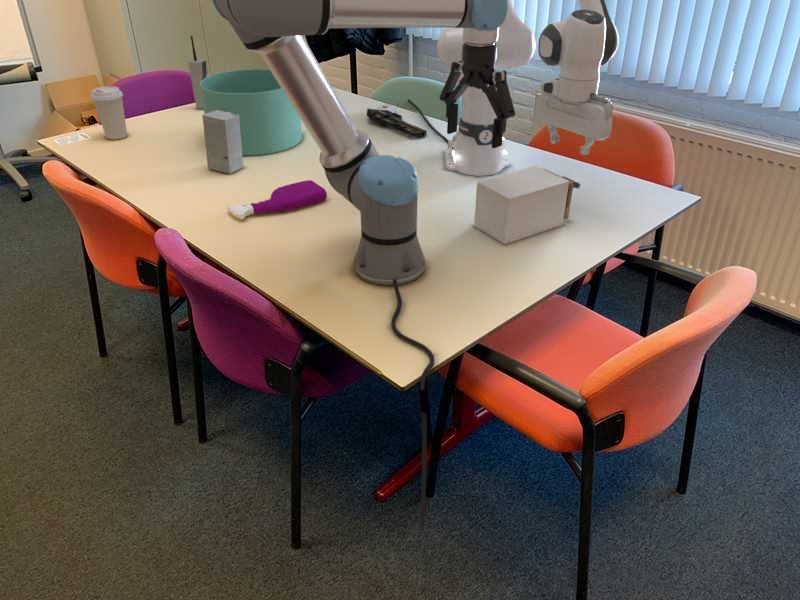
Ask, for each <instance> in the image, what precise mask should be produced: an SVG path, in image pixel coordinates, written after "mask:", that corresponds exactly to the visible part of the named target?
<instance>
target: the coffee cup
mask: <svg viewBox="0 0 800 600" xmlns="http://www.w3.org/2000/svg"><path fill="white" fill-rule="evenodd" d="M123 96H124V94H123V92H122V91H121V90H120V88H119V87H118V86H113V85H112V86H110V85H109V86H100V87H96V88H94V89H92V90H91V94H90V99H91V100H92V101H93V105H94V107H95V109H96V113H97V115H98V118H99V121H100V124H101V127H102V129H103V133H104V135H105V138H106V139H108V140H113V141H114V140H122V139H125V138H126V137H128V129H127V124H126V123H127V122H126V116H125V111H124V101H123Z"/></svg>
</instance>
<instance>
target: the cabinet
mask: <svg viewBox="0 0 800 600" xmlns="http://www.w3.org/2000/svg"><path fill="white" fill-rule="evenodd" d="M543 169H544V168H541V167H539V166H537V165H535V166H531V167H527V168H524V169H520V170H516V171H512V172H508V173H505V174H501V175H498V176H497V175H496V176H493V177H490V178H486V179H483V180H480V181H479V180H478V181H477V182H476V194H475V208H474V209H475V210H474V223H473V226H474V227H475V228H477V229H478V230H480V231H482V232H484V234H487V235H489V236H490V237H492V238H494V239H495V240H496V241H499V242H500V243H502V244H503V245H507V244H510V243H513V242H516V241H519V240H521V239H525V238H528V237H531V236H534V235H537V234H539V233H540V234H541V233H543V232H547V231H549V230H552V229H555V228H558V227H561V226H563V224H564V220H565V219H564V212H565V206H566V199H567V193H568V186H569V181H568V180H566V179H563V178H561V177H562V176H561V177H559V176H560V175H559V176H557V175H558V174H557V175H554V174H552V173H553V172H552V173H550V172H551V171H550V172H548V171H549V170H548V171H546V170H547V169H546V170H543Z"/></svg>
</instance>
